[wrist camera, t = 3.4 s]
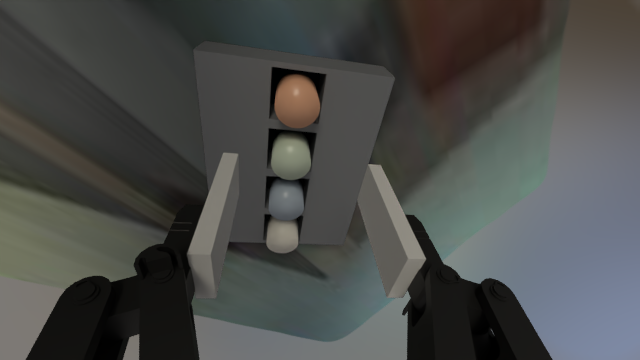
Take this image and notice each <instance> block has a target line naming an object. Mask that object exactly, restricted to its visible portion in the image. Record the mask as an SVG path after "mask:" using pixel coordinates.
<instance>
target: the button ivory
mask: <svg viewBox="0 0 640 360" xmlns="http://www.w3.org/2000/svg"><path fill="white" fill-rule="evenodd" d="M266 244H267V247H268V248H269V249H270V250H271V251H273V252H276V253H288V252H291V251H293V250H294V249H295V248H296V247H297V246H298V222H297V218H296V219H293V220H288V221H284V220H279V219H276V218H275V217H273V216H271V217H270V218H269V220H268V229H267V241H266Z"/></svg>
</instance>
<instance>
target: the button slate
mask: <svg viewBox="0 0 640 360" xmlns="http://www.w3.org/2000/svg"><path fill="white" fill-rule="evenodd" d="M303 210H304V201H303V187H302V183H301V182H300V180H298V179H296V180H286V179H283V178H281V177H277V178H276V179H274V180H273V181H272V183H271V185H270V195H269V212H270V214H271V215H272V216H273V217H275V218H276V219H279V220H284V221H288V220H293V219H296V218H298V217H299V216H300V215H301V214H302V213H303Z"/></svg>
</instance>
